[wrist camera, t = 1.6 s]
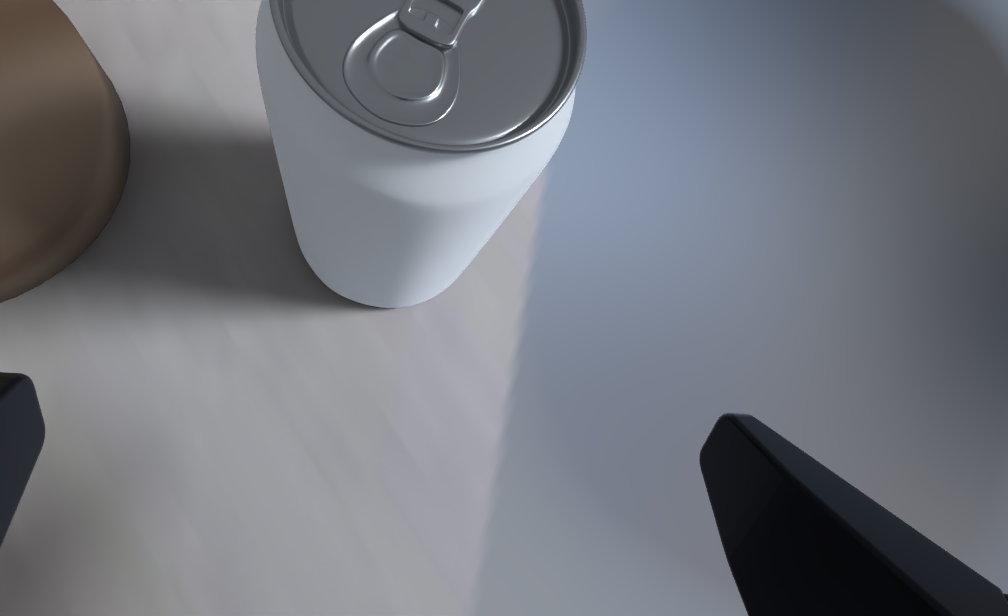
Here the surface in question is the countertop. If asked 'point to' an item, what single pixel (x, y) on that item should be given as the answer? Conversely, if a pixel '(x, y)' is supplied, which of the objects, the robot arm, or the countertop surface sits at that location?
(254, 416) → the countertop surface
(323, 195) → the can
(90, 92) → the walnut stand
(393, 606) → the countertop surface
